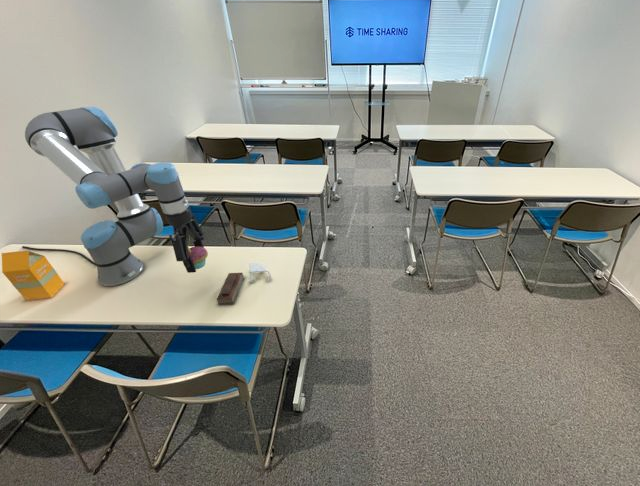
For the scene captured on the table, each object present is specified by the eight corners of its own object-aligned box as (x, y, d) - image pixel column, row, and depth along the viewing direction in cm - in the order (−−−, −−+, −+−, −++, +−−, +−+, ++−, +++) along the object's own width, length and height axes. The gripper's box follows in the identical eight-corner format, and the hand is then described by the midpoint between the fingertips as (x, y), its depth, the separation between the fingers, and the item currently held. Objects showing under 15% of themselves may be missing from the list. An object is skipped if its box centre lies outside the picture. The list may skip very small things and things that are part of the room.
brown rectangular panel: (233, 304, 109) (231, 296, 107) (218, 304, 109) (215, 296, 107) (244, 278, 121) (241, 270, 119) (230, 278, 121) (228, 271, 119)
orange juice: (51, 297, 113) (19, 257, 103) (25, 300, 112) (-10, 260, 101) (65, 283, 120) (36, 244, 109) (40, 286, 118) (9, 246, 108)
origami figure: (242, 282, 119) (239, 273, 116) (251, 269, 126) (249, 260, 123) (269, 286, 117) (267, 277, 114) (278, 272, 124) (276, 263, 121)
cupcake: (200, 274, 104) (190, 247, 98) (180, 271, 105) (168, 244, 99) (215, 259, 111) (206, 232, 105) (195, 256, 113) (185, 230, 106)
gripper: (172, 227, 87) (195, 283, 99) (201, 195, 105) (218, 245, 117) (146, 228, 87) (172, 284, 98) (180, 195, 105) (199, 246, 117)
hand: (197, 263), depth 108 cm, fingers closed on cupcake, 9 cm apart
